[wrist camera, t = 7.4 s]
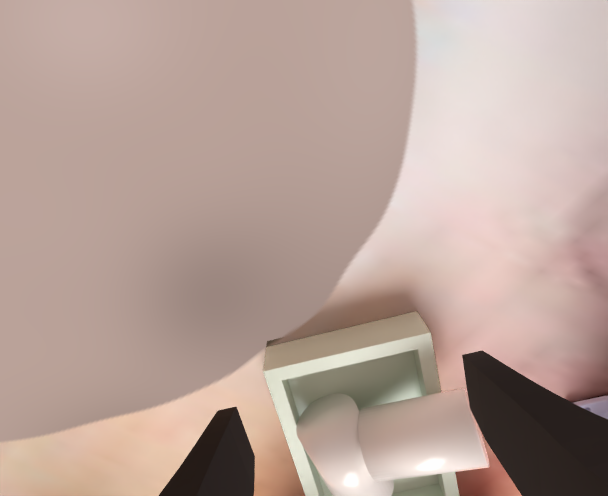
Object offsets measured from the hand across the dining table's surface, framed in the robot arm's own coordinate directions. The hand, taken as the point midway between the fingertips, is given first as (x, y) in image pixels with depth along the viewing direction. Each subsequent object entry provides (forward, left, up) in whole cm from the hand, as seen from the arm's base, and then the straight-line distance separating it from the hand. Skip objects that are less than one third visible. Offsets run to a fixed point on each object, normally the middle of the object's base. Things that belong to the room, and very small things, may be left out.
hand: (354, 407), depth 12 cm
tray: (0, +10, -11) cm, 14 cm away
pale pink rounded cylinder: (+1, +12, -8) cm, 14 cm away
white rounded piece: (0, +8, -7) cm, 11 cm away
